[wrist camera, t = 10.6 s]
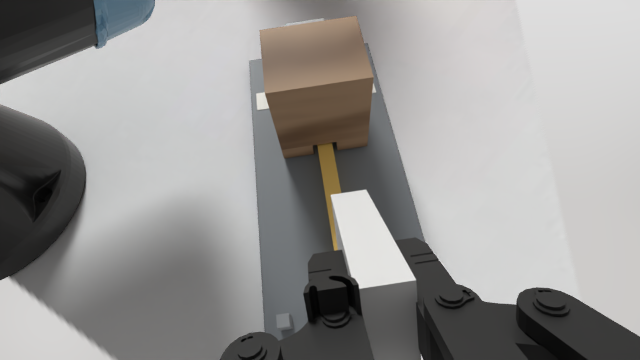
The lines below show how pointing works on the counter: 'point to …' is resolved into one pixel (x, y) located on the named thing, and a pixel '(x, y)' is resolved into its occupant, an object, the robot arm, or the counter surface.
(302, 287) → the sliding block track
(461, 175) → the counter surface
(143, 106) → the counter surface
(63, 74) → the counter surface
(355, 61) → the cardboard box
